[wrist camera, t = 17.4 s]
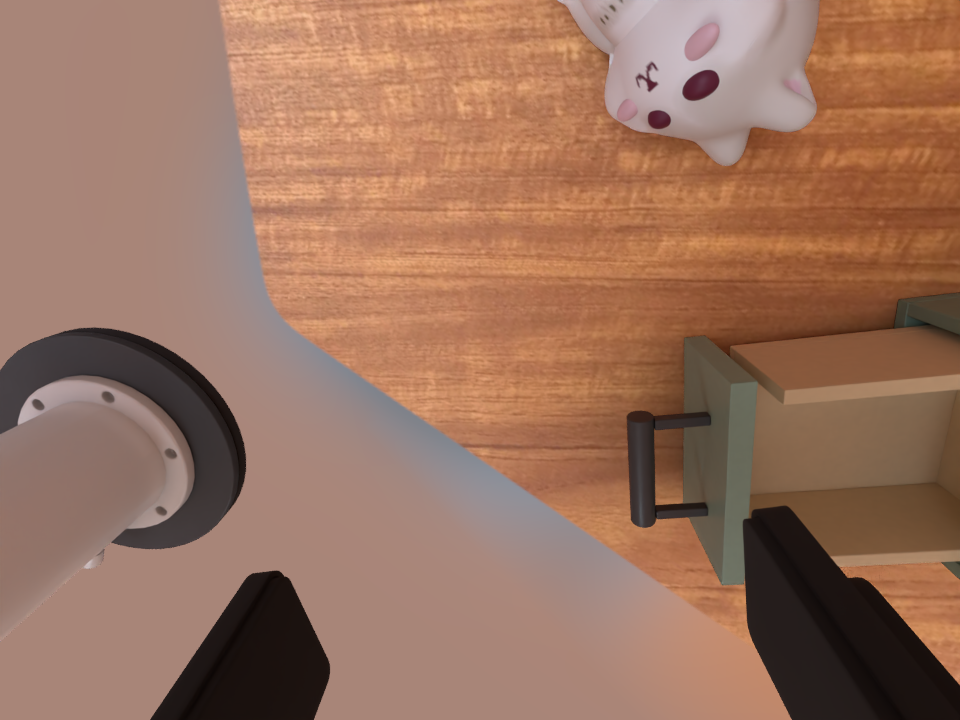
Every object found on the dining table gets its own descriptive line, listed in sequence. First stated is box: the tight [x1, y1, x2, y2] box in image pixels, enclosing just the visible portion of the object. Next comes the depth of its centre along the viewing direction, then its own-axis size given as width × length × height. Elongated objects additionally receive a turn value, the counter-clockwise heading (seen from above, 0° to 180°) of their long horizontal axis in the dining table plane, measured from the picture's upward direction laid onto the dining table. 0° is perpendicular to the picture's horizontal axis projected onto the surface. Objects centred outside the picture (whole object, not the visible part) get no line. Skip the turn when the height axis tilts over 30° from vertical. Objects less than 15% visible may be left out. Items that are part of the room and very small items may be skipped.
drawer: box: [627, 325, 960, 585], centre depth 27 cm, size 20×12×7 cm, turn 98°
